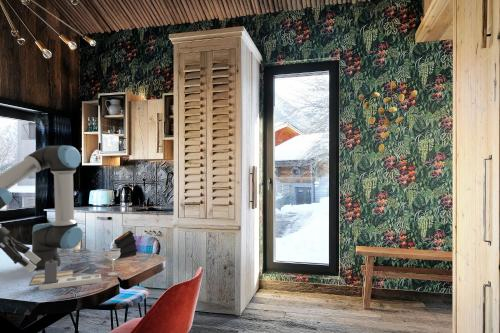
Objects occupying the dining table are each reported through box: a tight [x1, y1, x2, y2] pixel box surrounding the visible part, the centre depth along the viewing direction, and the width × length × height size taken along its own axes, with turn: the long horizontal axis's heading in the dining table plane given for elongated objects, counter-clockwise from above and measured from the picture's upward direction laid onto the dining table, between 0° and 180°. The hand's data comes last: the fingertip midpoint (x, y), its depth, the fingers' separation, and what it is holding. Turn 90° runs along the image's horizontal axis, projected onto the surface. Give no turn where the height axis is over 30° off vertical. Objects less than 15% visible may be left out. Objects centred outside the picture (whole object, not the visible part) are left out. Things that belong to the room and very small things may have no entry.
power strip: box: [38, 273, 102, 291], centre depth 148 cm, size 7×24×3 cm, turn 117°
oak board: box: [30, 269, 74, 287], centre depth 156 cm, size 16×16×1 cm
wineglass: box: [105, 247, 121, 276], centre depth 165 cm, size 7×7×12 cm
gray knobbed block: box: [44, 260, 58, 284], centre depth 144 cm, size 4×4×11 cm
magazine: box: [113, 230, 138, 259], centre depth 200 cm, size 4×13×15 cm, turn 139°
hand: (36, 265), depth 141 cm, fingers open, 13 cm apart
